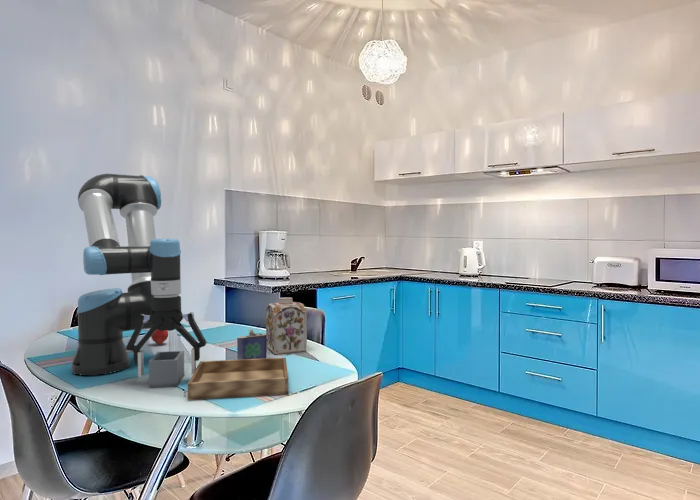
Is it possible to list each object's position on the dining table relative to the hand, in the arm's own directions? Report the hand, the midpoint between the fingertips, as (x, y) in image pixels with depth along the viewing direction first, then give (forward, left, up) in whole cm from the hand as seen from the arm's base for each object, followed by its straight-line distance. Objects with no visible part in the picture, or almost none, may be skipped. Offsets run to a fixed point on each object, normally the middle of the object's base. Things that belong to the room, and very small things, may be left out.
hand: (167, 374), depth 126 cm
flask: (+22, +13, -2) cm, 26 cm away
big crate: (+20, -6, -2) cm, 21 cm away
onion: (-12, +45, -2) cm, 47 cm away
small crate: (0, 0, -2) cm, 2 cm away
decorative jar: (+33, +30, -2) cm, 45 cm away
